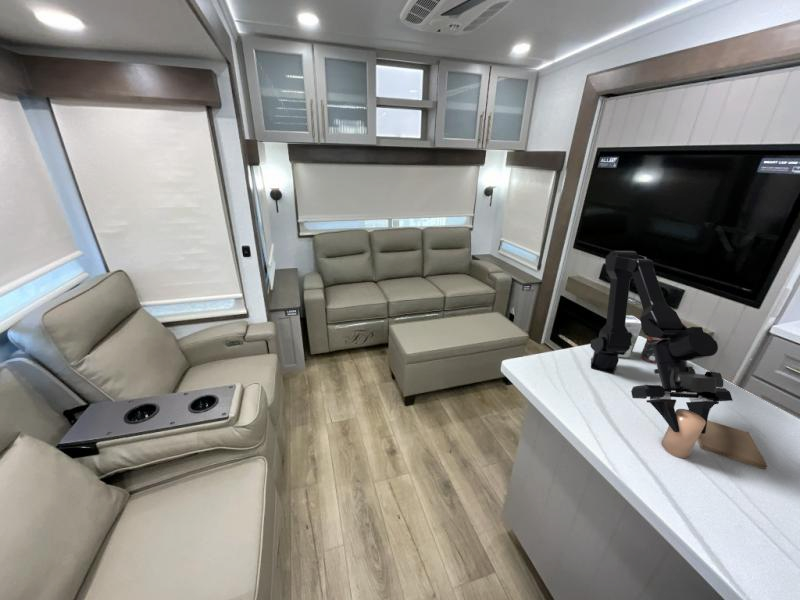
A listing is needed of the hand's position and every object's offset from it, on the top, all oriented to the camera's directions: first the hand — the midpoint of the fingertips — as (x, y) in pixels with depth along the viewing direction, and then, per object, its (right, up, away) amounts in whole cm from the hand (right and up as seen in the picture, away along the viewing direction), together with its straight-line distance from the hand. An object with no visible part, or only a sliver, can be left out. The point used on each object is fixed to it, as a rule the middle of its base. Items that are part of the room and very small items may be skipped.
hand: (689, 432), depth 70 cm
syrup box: (+13, +11, +42) cm, 45 cm away
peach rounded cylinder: (0, -5, +4) cm, 7 cm away
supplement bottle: (+23, +9, +39) cm, 46 cm away
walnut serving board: (+14, -5, +6) cm, 16 cm away
